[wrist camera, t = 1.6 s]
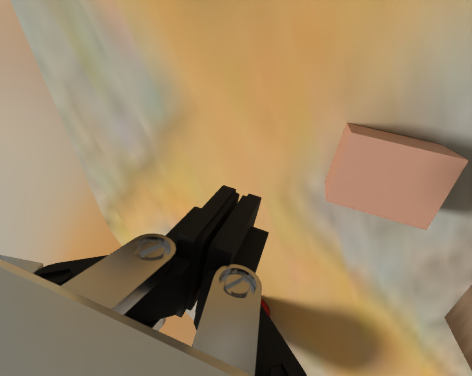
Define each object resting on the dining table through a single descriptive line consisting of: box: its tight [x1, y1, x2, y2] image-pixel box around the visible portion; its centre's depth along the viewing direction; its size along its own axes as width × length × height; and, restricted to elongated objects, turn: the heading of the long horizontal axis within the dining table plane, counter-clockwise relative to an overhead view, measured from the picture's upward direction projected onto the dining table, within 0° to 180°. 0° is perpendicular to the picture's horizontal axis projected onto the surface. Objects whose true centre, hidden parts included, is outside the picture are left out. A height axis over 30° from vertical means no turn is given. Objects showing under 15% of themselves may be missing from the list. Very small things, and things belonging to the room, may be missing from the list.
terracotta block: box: [325, 123, 469, 230], centre depth 22 cm, size 6×8×5 cm
